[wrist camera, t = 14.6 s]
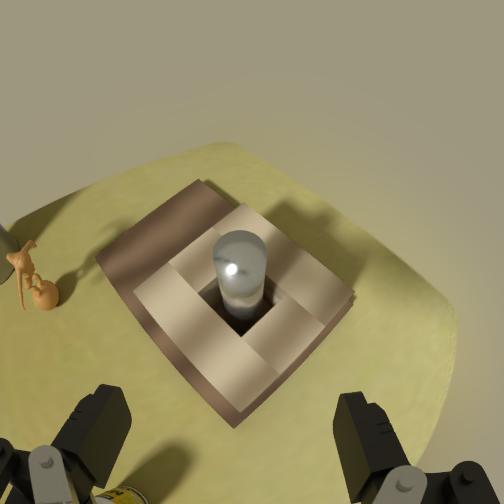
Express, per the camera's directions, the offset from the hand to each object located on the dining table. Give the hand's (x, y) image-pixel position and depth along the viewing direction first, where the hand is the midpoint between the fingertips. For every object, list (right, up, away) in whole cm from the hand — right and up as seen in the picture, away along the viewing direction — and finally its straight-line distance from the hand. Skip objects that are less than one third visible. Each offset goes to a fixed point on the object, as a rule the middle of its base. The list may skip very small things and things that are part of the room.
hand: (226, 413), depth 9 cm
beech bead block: (0, -1, +20) cm, 20 cm away
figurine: (-25, -1, +23) cm, 34 cm away
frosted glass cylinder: (0, -1, +20) cm, 20 cm away
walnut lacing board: (-4, +2, +24) cm, 24 cm away
